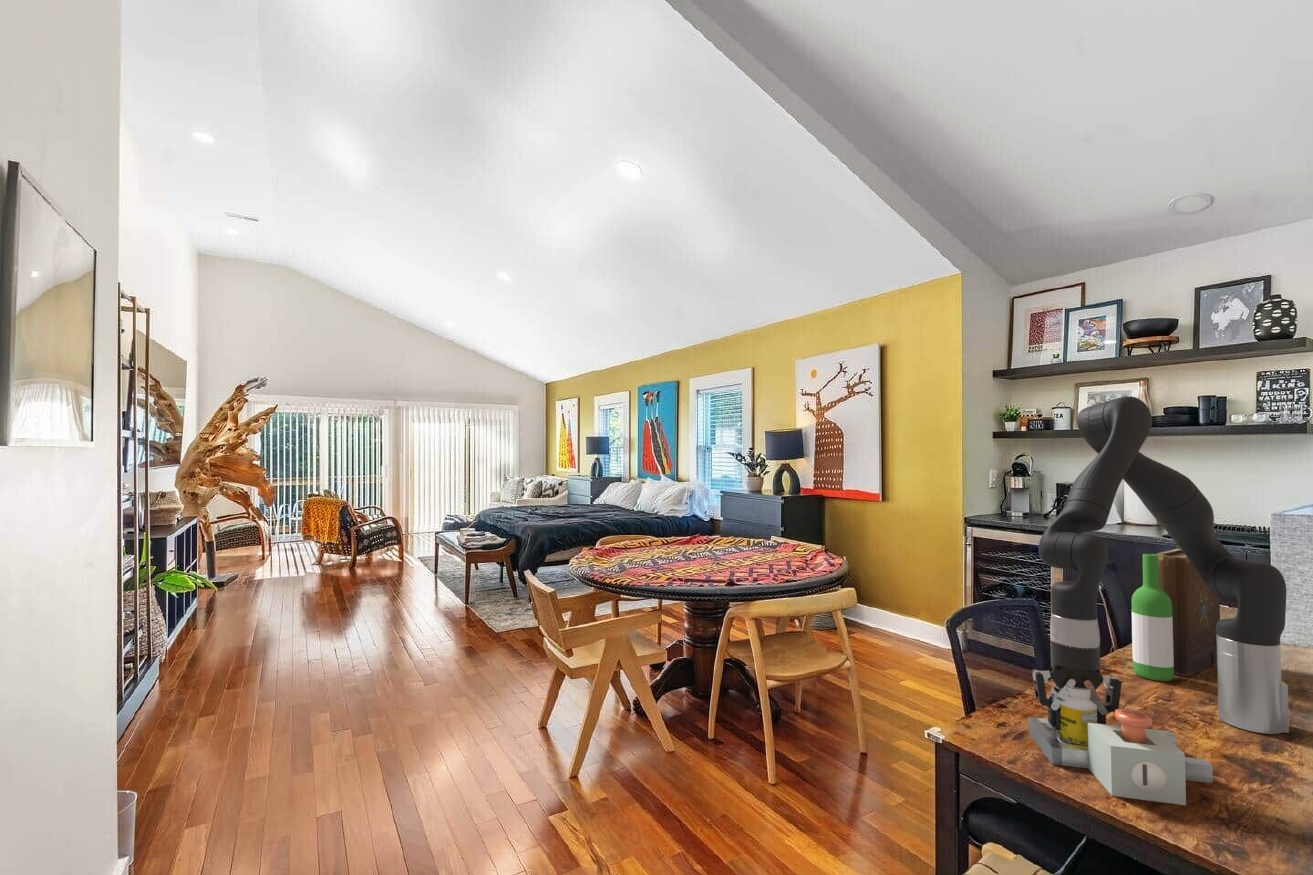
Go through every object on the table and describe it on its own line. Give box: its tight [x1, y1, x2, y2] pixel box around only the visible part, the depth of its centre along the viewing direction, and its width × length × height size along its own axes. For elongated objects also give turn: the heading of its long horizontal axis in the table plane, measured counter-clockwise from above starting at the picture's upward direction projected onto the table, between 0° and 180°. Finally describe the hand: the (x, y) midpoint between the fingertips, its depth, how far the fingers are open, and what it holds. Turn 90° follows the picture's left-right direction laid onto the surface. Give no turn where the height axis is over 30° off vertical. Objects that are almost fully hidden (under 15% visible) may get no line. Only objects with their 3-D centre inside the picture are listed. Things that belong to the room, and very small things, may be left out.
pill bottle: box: [1057, 687, 1097, 746], centre depth 109 cm, size 6×6×11 cm
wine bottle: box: [1131, 553, 1175, 682], centre depth 146 cm, size 8×8×30 cm
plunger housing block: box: [1088, 723, 1187, 806], centre depth 98 cm, size 10×9×8 cm
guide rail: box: [1027, 716, 1214, 784], centre depth 108 cm, size 24×12×3 cm, turn 75°
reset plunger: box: [1114, 708, 1153, 744], centre depth 98 cm, size 5×5×4 cm
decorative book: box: [1156, 545, 1221, 677], centre depth 153 cm, size 23×7×30 cm, turn 122°
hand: (1076, 730), depth 109 cm, fingers closed on pill bottle, 6 cm apart
